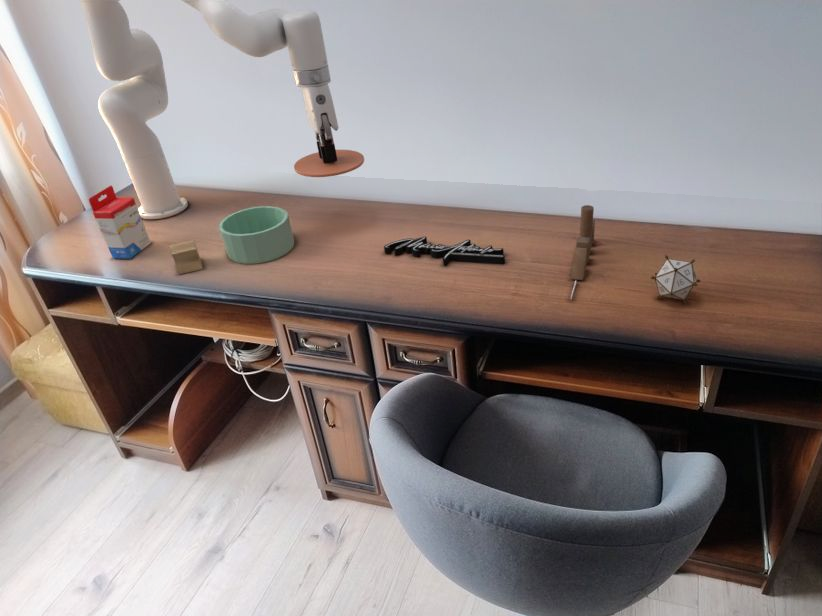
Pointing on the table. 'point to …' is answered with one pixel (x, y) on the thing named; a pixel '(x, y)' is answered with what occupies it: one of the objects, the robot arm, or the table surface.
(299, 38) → the robot arm
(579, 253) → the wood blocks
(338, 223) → the table surface
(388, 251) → the nameplate
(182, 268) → the block
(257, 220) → the green round container
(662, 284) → the game die
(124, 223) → the ink box
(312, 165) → the lid
